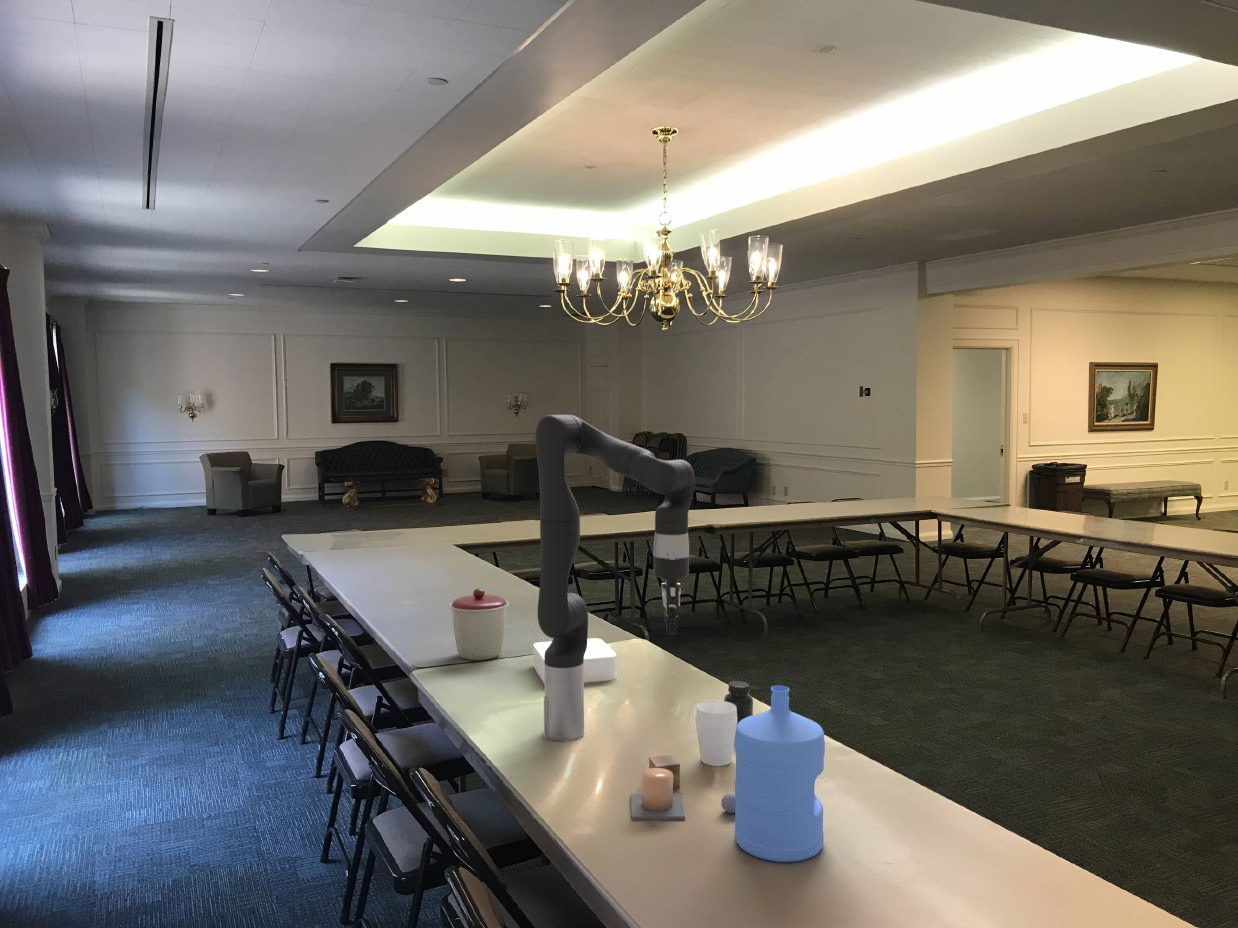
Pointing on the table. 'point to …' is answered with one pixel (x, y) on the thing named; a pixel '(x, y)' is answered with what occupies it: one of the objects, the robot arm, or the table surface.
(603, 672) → the projector
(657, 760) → the walnut block
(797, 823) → the water jug
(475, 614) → the canister
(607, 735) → the table surface
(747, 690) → the supplement bottle
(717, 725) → the cup
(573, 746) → the table surface
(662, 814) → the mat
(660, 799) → the peach rounded capsule
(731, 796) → the grey ball
